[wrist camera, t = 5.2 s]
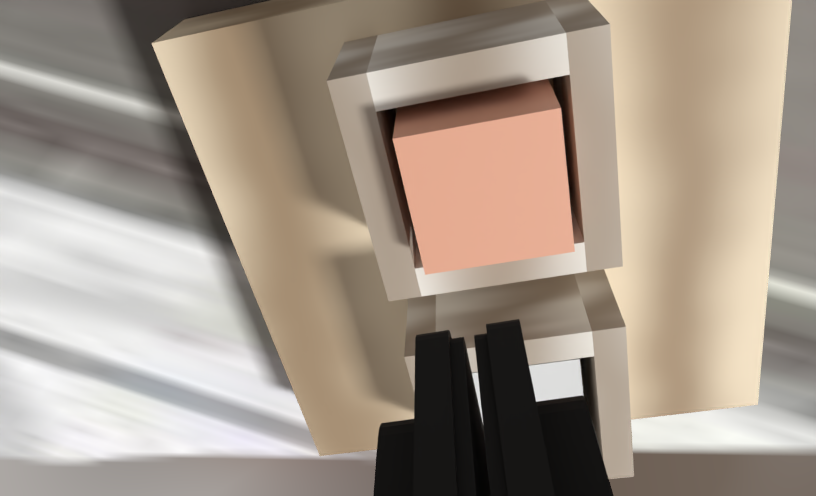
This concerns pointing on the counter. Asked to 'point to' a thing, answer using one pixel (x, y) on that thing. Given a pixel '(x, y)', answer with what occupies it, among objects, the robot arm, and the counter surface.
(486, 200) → the terracotta key
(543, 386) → the pale grey key
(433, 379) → the robot arm
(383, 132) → the key panel
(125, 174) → the counter surface
